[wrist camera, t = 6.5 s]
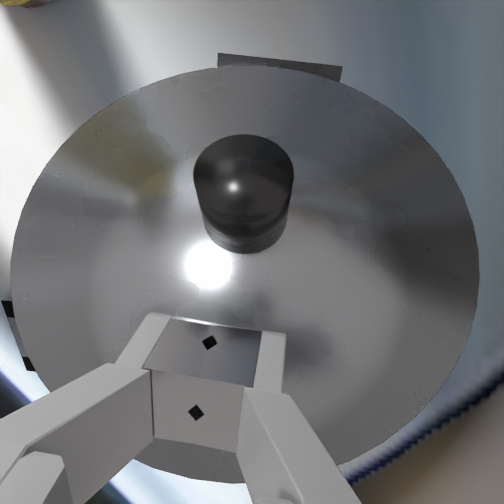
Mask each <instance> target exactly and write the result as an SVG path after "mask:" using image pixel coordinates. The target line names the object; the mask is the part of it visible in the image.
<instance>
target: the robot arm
mask: <svg viewBox="0 0 504 504" xmlns="http://www.w3.org/2000/svg"><path fill="white" fill-rule="evenodd" d="M261 335H262V336H261ZM260 342H261V343H260ZM285 352H286V334H285V333H279V332H271V331H264V330H263V332H262V331H260V330H253V329H247V328H241V327H234V326H228V325H221V324H216V323H211V322H206V321H200V320H195V319H190V318H184V317H179V316H172V315H166V314H161V313H155V312H151V313H149V314H148V315H146V317H145V318H144V320H143V321H142V323H141V324H140V326H139V327H138V329H137V330H136V332H135V333H134V335H133V336H132V338H131V340H130V341H129V343H128V344H127V346H126V347H125V349H124V350H123V352H122V353H121V355H120V356H119V358H118V359H117V361H116V362H115V364H111V363H106V364H104V365H102V366H100V367H98V368H96V369H95V370H93V371H91V372H89V373H87V374H85V375H83V376H81V377H79V378H78V379H76V380H74V381H72V382H70V383H68V384H66V385H64V386H62V387H60V388H59V389H57V390H55V391H53V392H51V393H49V394H47V395H45V396H43V397H42V398H40V399H38V400H36V401H34V402H32V403H30V404H28V405H26V406H25V407H23V408H21V409H19V410H17V411H15V412H13V413H11V414H9V415H7V416H6V417H4V418H2V419H0V504H84V503H85V502H86V501H87V500H89V499H90V498H91V497H92V496H93V495H94V494H95V493H96V492H97V491H98V490H99V489H101V488H102V487H103V486H104V485H105V484H106V483H107V482H108V481H109V480H110V479H111V478H112V477H114V476H115V475H116V474H117V473H118V472H119V471H120V470H121V469H122V468H123V467H124V466H126V465H127V464H128V463H129V462H130V461H131V460H132V459H133V458H134V457H135V456H136V455H137V454H139V453H140V452H141V451H142V450H143V449H144V448H145V447H146V446H147V445H148V444H149V443H151V442H152V441H153V437H154V438H160V439H166V440H173V441H179V442H185V443H192V444H197V445H202V446H206V447H211V448H215V449H220V450H224V451H229V452H234V453H236V457H237V459H238V462H239V465H240V468H241V471H242V474H243V477H244V479H245V482H246V485H247V488H248V491H249V494H250V497H251V500H252V502H253V504H362V503H361V502H360V500H359V499H358V497H357V496H356V494H355V493H354V491H353V490H352V488H351V487H350V485H349V484H348V482H347V481H346V479H345V478H344V476H343V474H342V473H341V471H340V470H339V468H338V467H337V465H336V464H335V462H334V461H333V459H332V458H331V456H330V455H329V453H328V452H327V450H326V449H325V447H324V445H323V444H322V442H321V441H320V439H319V438H318V436H317V435H316V433H315V432H314V430H313V429H312V427H311V426H310V424H309V423H308V421H307V420H306V418H305V416H304V415H303V413H302V412H301V410H300V409H299V407H298V406H297V404H296V403H295V401H294V400H293V398H292V397H291V395H288V394H283V382H284V367H285Z"/></svg>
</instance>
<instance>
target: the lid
mask: <svg viewBox="0 0 504 504" xmlns="http://www.w3.org/2000/svg"><path fill="white" fill-rule="evenodd" d="M479 279H480V276H479V255H478V246H477V241H476V236H475V231H474V226H473V222H472V219H471V216H470V213H469V210H468V208H467V205H466V202H465V199H464V197H463V195H462V193H461V191H460V189H459V187H458V185H457V183H456V181H455V179H454V177H453V175H452V174H451V172H450V171H449V169H448V168H447V167H446V165H445V164H444V162H443V161H442V159H441V158H440V156H439V155H438V154H437V153H436V151H435V150H434V149H433V148H432V147H431V146H430V145H429V143H428V142H427V141H426V140H425V139H424V138H423V137H422V136H421V135H420V134H419V133H418V132H417V131H416V130H415V129H414V128H413V127H412V126H410V125H409V124H408V123H407V122H406V121H405V120H404V119H402V118H401V117H400V116H398V115H397V114H396V113H394V112H393V111H391V110H390V109H389V108H387V107H386V106H385V105H383V104H381V103H379V102H378V101H376V100H374V99H373V98H371V97H369V96H367V95H366V94H364V93H362V92H359V91H357V90H355V89H353V88H351V87H349V86H346V85H344V84H342V83H339V82H336V81H333V80H330V79H327V78H324V77H322V76H318V75H314V74H310V73H306V72H302V71H297V70H291V69H284V68H278V67H265V66H227V67H218V68H209V69H203V70H198V71H193V72H188V73H183V74H180V75H177V76H173V77H170V78H166V79H163V80H160V81H158V82H155V83H153V84H150V85H148V86H145V87H143V88H140V89H138V90H136V91H134V92H132V93H130V94H128V95H126V96H124V97H122V98H120V99H119V100H117V101H115V102H114V103H112V104H111V105H109V106H108V107H106V108H105V109H103V110H101V111H100V112H98V113H97V114H96V115H95V116H93V117H92V118H91V119H90V120H88V121H87V122H86V123H85V124H83V125H82V126H81V127H80V128H79V129H78V130H77V131H76V132H75V133H74V134H73V135H72V136H71V137H70V138H69V139H68V140H67V141H66V142H65V143H64V144H63V145H62V146H61V147H60V148H59V149H58V151H57V152H56V153H55V154H54V156H53V157H52V158H51V159H50V161H49V162H48V163H47V164H46V166H45V168H44V169H43V171H42V172H41V174H40V176H39V177H38V179H37V181H36V182H35V184H34V185H33V187H32V190H31V192H30V194H29V196H28V198H27V201H26V203H25V205H24V207H23V209H22V212H21V216H20V219H19V222H18V226H17V229H16V233H15V236H14V243H13V250H12V256H11V297H12V303H13V310H14V316H15V321H16V324H17V327H18V330H19V333H20V336H21V339H22V342H23V345H24V348H25V351H26V353H27V355H28V357H29V359H30V361H31V362H32V364H33V366H34V368H35V370H36V372H37V374H38V376H39V378H40V379H41V381H42V382H43V383H44V385H45V386H46V387H47V389H48V390H49V391H50V393H51V392H53V391H55V390H57V389H59V388H60V387H62V386H64V385H66V384H68V383H70V382H72V381H74V380H76V379H78V378H79V377H81V376H83V375H85V374H87V373H89V372H91V371H93V370H95V369H96V368H98V367H100V366H102V365H104V364H106V363H111V364H115V362H116V361H117V359H118V358H119V356H120V355H121V353H122V352H123V350H124V349H125V347H126V346H127V344H128V343H129V341H130V340H131V338H132V336H133V335H134V333H135V332H136V330H137V329H138V327H139V326H140V324H141V323H142V321H143V320H144V318H145V317H146V315H148V314H149V313H151V312H155V313H161V314H166V315H172V316H179V317H184V318H190V319H195V320H200V321H206V322H211V323H216V324H221V325H228V326H234V327H241V328H247V329H253V330H260V331H262V332H263V330H264V331H271V332H279V333H285V334H286V352H285V367H284V382H283V394H288V395H291V397H292V398H293V400H294V401H295V403H296V404H297V406H298V407H299V409H300V410H301V412H302V413H303V415H304V416H305V418H306V420H307V421H308V423H309V424H310V426H311V427H312V429H313V430H314V432H315V433H316V435H317V436H318V438H319V439H320V441H321V442H322V444H323V445H324V447H325V449H326V450H327V452H328V453H329V455H330V456H331V458H332V459H333V461H334V462H335V464H336V465H340V464H342V463H345V462H348V461H350V460H352V459H354V458H356V457H358V456H359V455H361V454H363V453H365V452H367V451H369V450H370V449H372V448H374V447H376V446H378V445H379V444H381V443H383V442H384V441H386V440H387V439H388V438H390V437H391V436H392V435H393V434H395V433H396V432H397V431H399V430H400V429H401V428H402V427H404V426H405V425H406V424H408V423H409V422H410V421H411V420H413V419H414V418H415V416H416V415H417V414H418V413H419V412H420V411H421V410H422V409H423V408H424V407H425V406H426V405H427V404H428V402H429V401H430V400H431V399H432V398H433V397H434V396H435V395H436V394H437V392H438V391H439V389H440V388H441V386H442V385H443V383H444V382H445V380H446V379H447V377H448V376H449V374H450V373H451V371H452V370H453V368H454V367H455V365H456V363H457V361H458V359H459V356H460V354H461V352H462V350H463V348H464V345H465V343H466V341H467V339H468V337H469V333H470V329H471V325H472V322H473V318H474V314H475V311H476V307H477V298H478V288H479ZM261 336H262V335H261ZM260 343H261V342H260ZM133 459H135V460H137V461H139V462H141V463H144V464H146V465H148V466H150V467H152V468H155V469H159V470H162V471H166V472H169V473H173V474H176V475H180V476H184V477H187V478H191V479H198V480H206V481H215V482H223V483H231V484H233V483H246V482H245V479H244V477H243V474H242V471H241V468H240V465H239V462H238V459H237V457H236V453H234V452H229V451H224V450H220V449H215V448H211V447H206V446H202V445H197V444H192V443H185V442H179V441H173V440H166V439H160V438H154V437H153V441H152V442H151V443H149V444H148V445H147V446H146V447H145V448H144V449H143V450H142V451H141V452H140V453H139V454H137V455H136V456H135V457H134V458H133Z"/></svg>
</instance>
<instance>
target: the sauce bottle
mask: <svg viewBox="0 0 504 504" xmlns="http://www.w3.org/2000/svg"><path fill="white" fill-rule="evenodd" d="M48 1H50V0H0V4H2V5H20V6H23V7H26V8H30V7H39V6H42V5H44V4H46V3H47V2H48Z"/></svg>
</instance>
